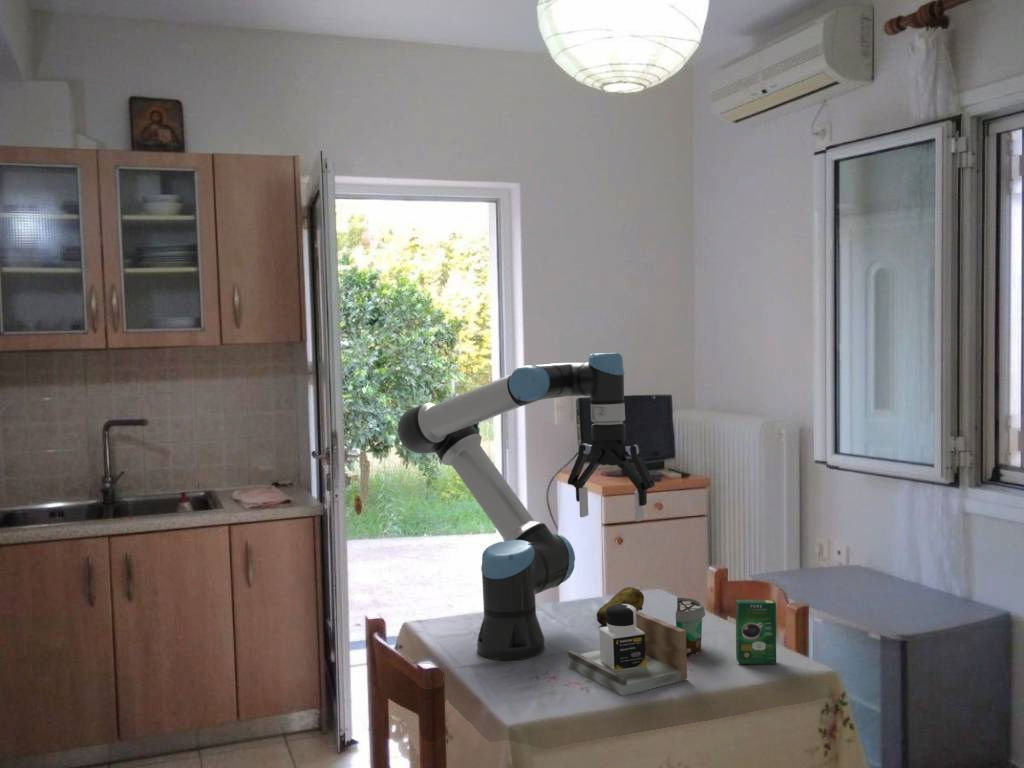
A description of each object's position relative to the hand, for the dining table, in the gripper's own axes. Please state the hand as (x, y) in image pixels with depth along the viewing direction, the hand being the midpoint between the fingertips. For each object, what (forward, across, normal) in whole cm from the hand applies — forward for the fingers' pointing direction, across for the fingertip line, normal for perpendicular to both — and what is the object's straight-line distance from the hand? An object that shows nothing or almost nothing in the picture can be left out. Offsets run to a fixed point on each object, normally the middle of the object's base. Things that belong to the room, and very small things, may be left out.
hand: (611, 518), depth 208 cm
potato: (+29, -7, +17) cm, 34 cm away
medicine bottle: (+27, +9, -15) cm, 32 cm away
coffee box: (+29, +31, +3) cm, 42 cm away
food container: (+29, +16, +5) cm, 33 cm away
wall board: (+29, +9, -15) cm, 34 cm away
